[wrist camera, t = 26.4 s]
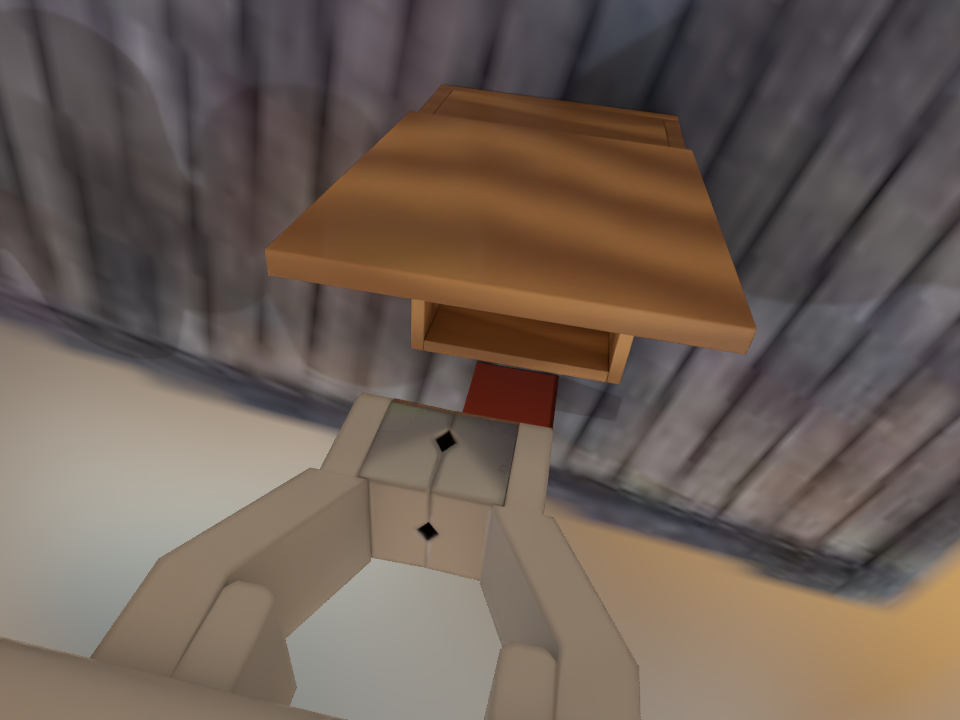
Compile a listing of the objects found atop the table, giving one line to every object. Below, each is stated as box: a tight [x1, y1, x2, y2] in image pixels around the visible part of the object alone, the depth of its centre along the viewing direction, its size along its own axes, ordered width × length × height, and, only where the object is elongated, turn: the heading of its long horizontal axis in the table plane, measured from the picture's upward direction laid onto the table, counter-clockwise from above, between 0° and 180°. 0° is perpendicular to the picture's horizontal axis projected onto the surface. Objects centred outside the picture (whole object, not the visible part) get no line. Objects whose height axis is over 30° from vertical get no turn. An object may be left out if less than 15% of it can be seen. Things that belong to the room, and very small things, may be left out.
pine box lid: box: [265, 111, 757, 354], centre depth 21 cm, size 14×13×1 cm
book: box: [463, 362, 559, 466], centre depth 40 cm, size 2×6×10 cm, turn 86°
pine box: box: [411, 85, 686, 384], centre depth 34 cm, size 14×13×6 cm
